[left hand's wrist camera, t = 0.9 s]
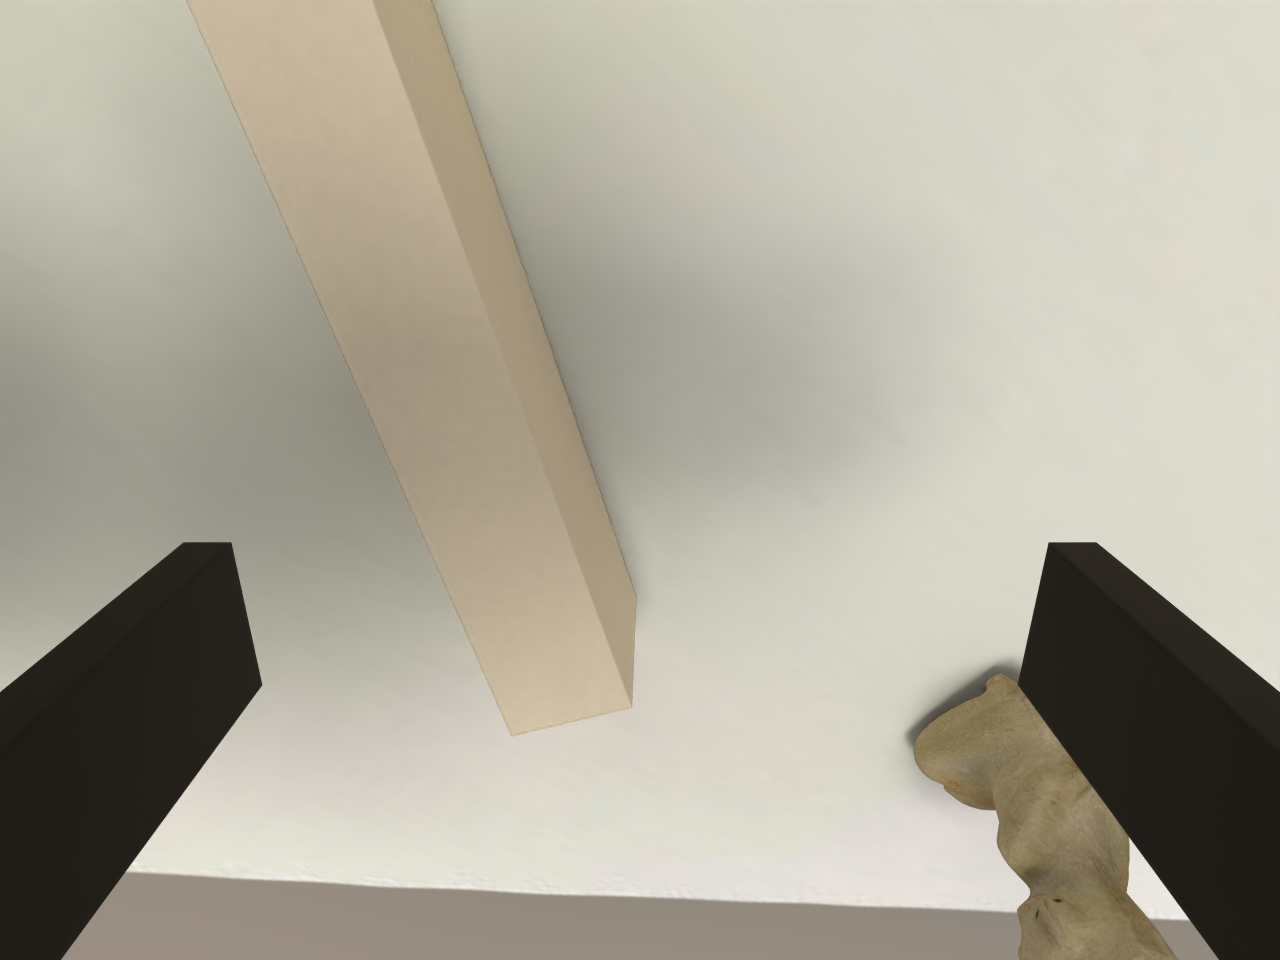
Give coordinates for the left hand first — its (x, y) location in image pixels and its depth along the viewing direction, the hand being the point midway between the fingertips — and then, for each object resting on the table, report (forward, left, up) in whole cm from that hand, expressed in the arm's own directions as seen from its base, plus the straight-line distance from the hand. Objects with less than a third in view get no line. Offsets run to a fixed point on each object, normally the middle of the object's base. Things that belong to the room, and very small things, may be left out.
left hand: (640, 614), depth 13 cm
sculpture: (+17, -19, -22) cm, 34 cm away
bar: (-10, +11, -22) cm, 27 cm away
